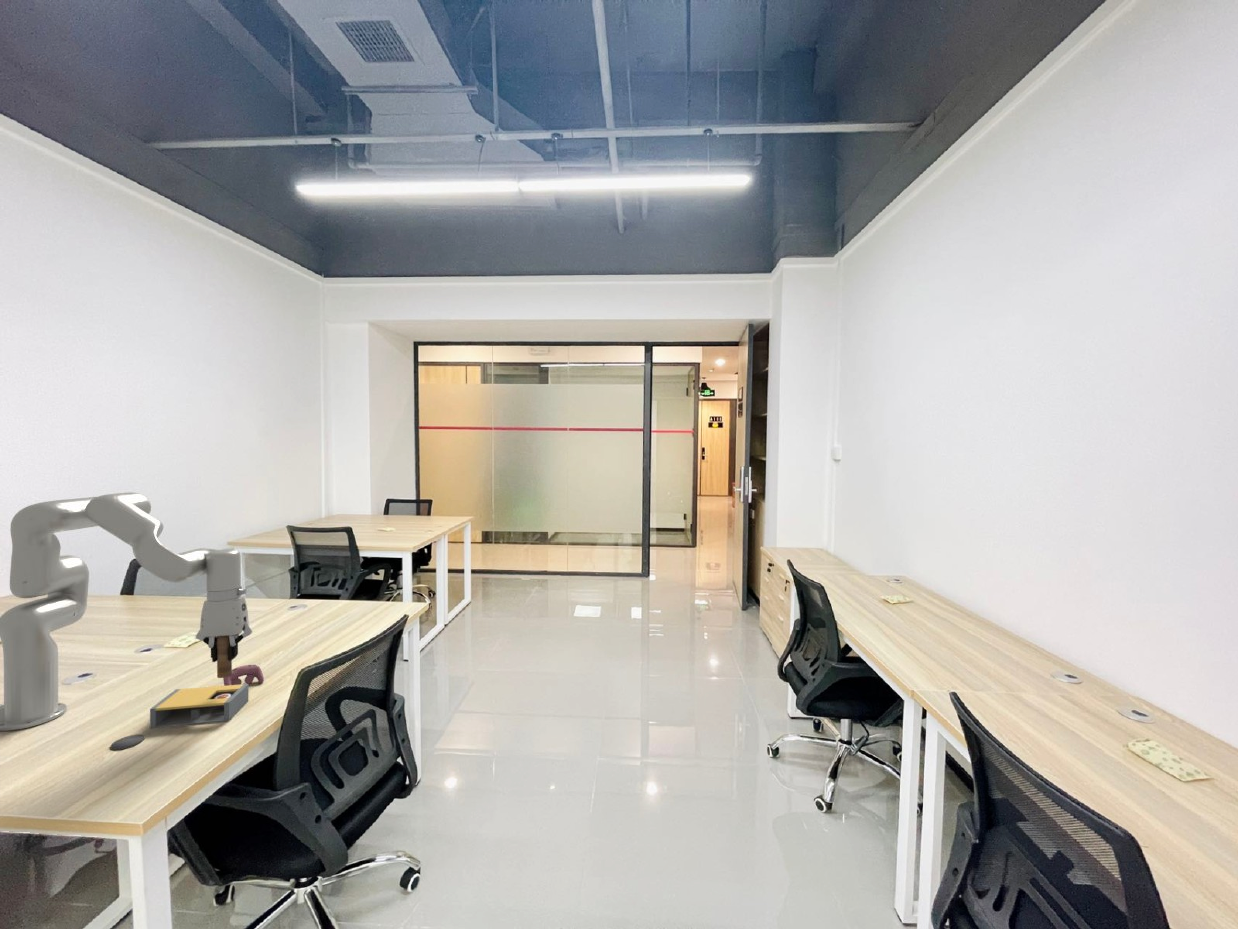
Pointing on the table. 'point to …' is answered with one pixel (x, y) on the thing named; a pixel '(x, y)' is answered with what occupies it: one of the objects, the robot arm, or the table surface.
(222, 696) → the breaker button
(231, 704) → the tan flat boxy piece
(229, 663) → the brown tall bar piece
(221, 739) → the table surface
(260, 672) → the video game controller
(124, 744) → the rubber pad
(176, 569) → the robot arm
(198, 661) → the table surface
